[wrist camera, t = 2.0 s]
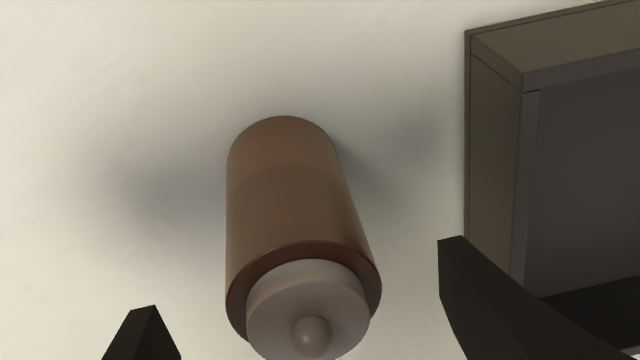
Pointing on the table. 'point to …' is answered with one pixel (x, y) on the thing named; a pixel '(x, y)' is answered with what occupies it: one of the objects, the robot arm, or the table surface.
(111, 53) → the table surface
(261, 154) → the pepper mill
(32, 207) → the table surface
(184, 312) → the table surface
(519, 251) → the black bin
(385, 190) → the table surface
